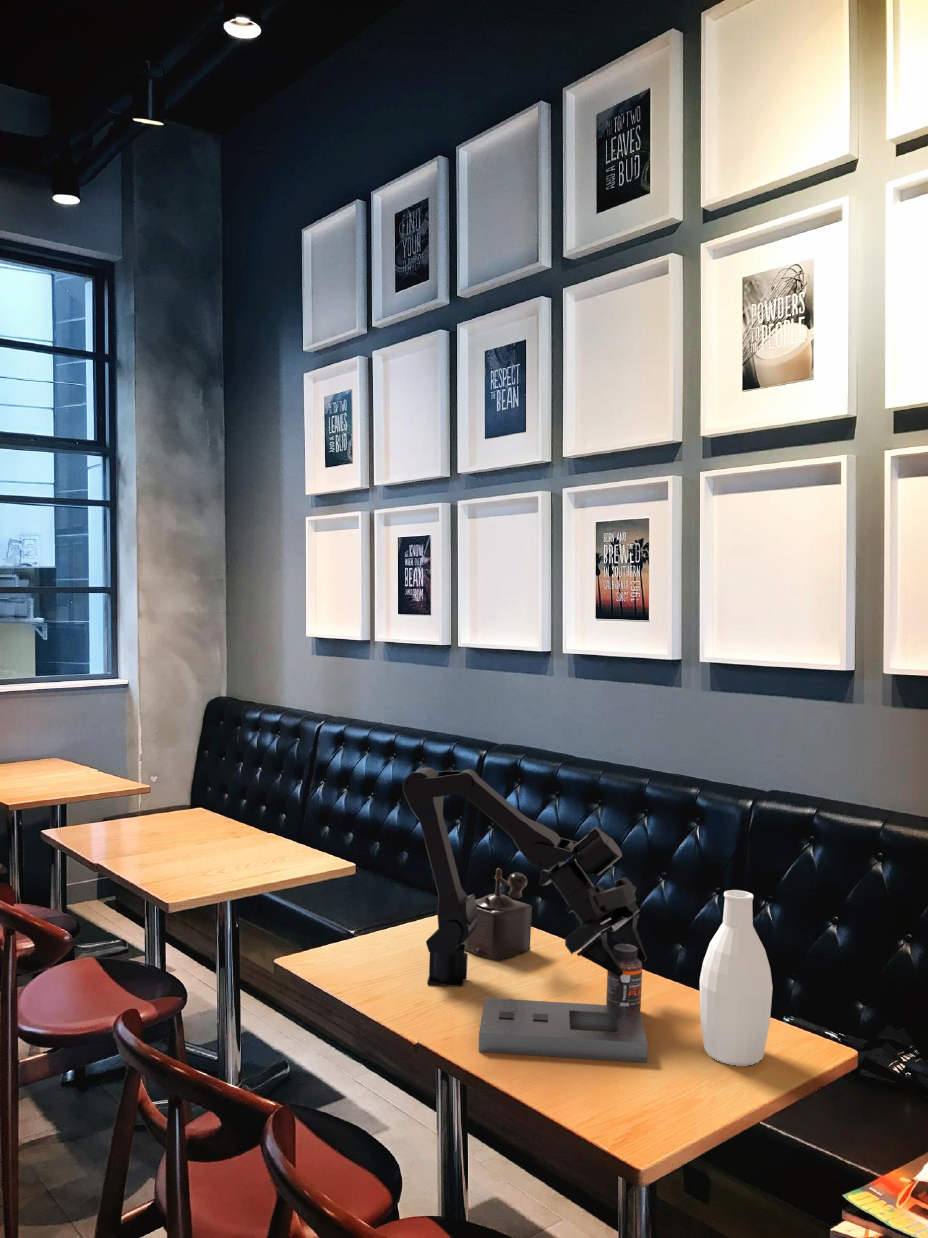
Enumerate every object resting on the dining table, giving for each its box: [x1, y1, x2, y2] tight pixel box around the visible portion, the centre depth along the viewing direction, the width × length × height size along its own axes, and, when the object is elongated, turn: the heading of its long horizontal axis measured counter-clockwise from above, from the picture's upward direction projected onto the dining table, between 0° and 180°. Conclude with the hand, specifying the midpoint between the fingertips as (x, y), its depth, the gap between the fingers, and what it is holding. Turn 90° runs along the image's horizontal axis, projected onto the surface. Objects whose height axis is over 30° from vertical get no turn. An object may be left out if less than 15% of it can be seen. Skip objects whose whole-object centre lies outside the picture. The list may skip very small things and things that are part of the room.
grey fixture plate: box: [478, 997, 648, 1063], centre depth 163 cm, size 26×14×3 cm, turn 85°
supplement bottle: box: [605, 943, 643, 1009], centre depth 174 cm, size 6×6×11 cm
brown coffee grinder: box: [462, 867, 533, 962], centre depth 201 cm, size 16×11×18 cm
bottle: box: [699, 889, 773, 1067], centre depth 158 cm, size 11×11×25 cm
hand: (633, 967), depth 173 cm, fingers open, 9 cm apart
